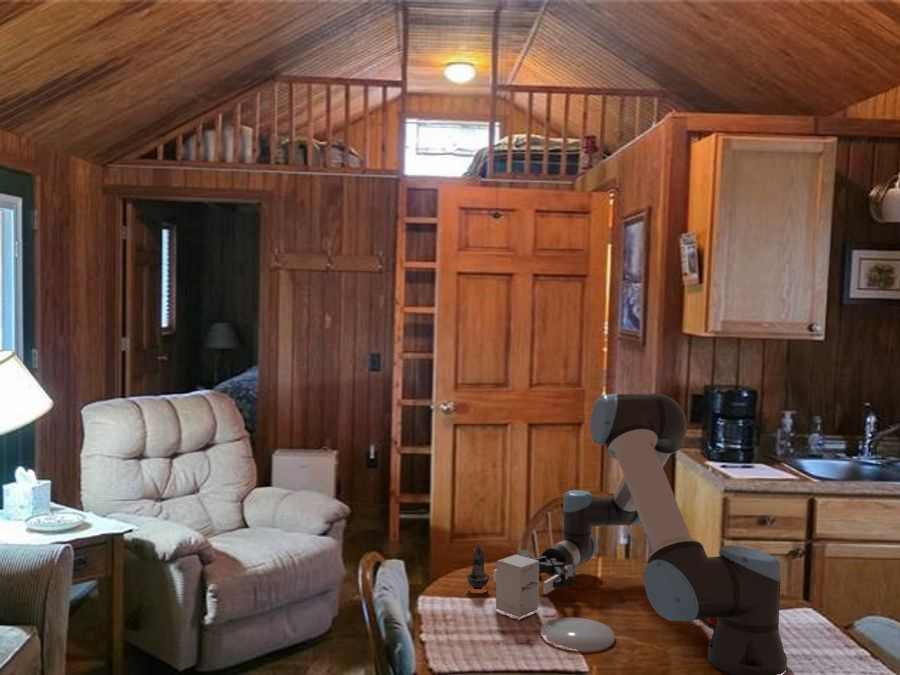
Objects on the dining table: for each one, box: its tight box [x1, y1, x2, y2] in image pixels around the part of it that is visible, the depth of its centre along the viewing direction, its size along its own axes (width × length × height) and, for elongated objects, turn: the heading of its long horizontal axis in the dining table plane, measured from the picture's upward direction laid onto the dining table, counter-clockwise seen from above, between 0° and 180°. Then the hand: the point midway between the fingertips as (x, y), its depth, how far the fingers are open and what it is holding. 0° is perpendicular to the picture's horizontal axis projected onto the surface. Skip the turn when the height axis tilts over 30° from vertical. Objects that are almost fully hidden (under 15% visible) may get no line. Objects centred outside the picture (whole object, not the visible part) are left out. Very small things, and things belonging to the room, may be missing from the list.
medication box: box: [516, 548, 542, 576], centre depth 218 cm, size 12×3×4 cm, turn 15°
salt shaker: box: [466, 543, 490, 589], centre depth 201 cm, size 6×6×12 cm
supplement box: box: [495, 554, 540, 617], centre depth 187 cm, size 7×7×13 cm
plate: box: [540, 616, 615, 653], centre depth 174 cm, size 16×16×1 cm
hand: (519, 581), depth 188 cm, fingers open, 13 cm apart
